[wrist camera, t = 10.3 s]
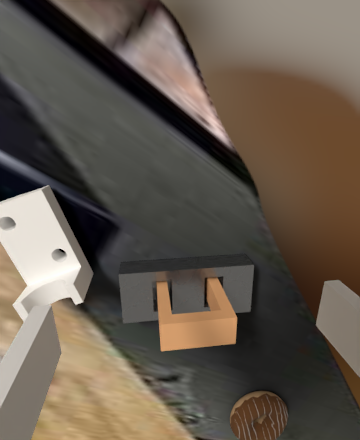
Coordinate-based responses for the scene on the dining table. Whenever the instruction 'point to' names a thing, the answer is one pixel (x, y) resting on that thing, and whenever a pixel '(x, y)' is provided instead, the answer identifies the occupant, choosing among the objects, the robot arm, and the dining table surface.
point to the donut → (258, 416)
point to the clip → (197, 320)
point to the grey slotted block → (183, 284)
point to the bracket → (43, 250)
